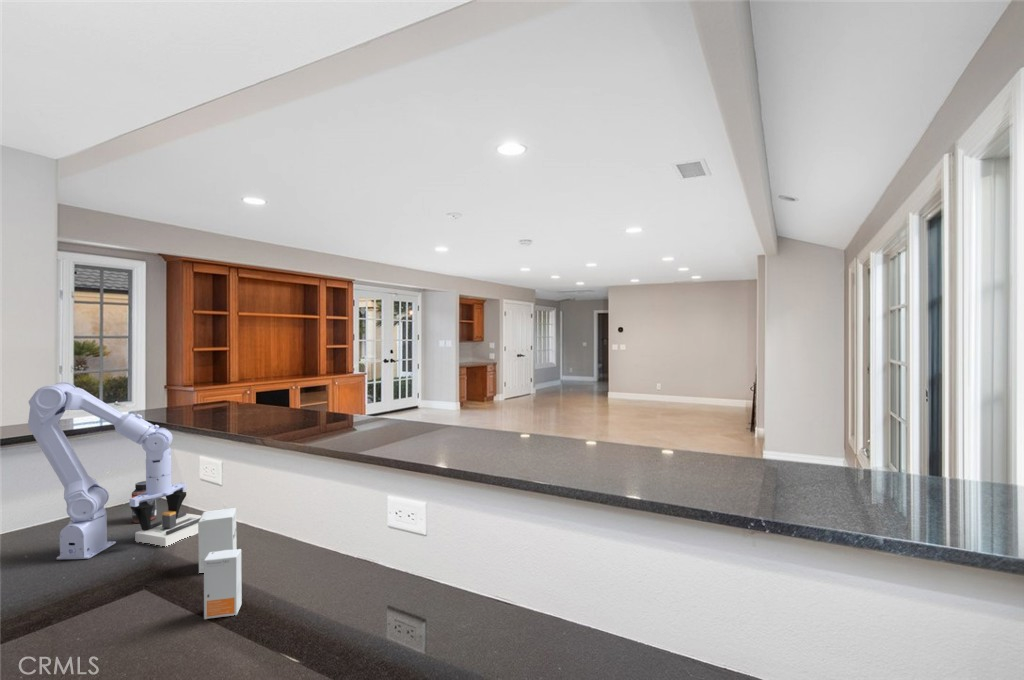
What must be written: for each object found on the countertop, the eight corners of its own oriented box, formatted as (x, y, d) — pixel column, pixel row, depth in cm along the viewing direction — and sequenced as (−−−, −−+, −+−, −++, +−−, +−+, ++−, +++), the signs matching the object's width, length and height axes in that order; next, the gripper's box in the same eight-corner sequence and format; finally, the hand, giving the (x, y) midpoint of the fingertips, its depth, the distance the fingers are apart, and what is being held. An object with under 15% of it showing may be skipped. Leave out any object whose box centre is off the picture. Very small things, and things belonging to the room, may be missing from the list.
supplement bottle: (161, 516, 156) (160, 479, 156) (145, 524, 150) (144, 485, 150) (143, 515, 157) (142, 479, 157) (126, 523, 151) (126, 485, 151)
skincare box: (203, 620, 101) (202, 560, 100) (210, 609, 105) (209, 551, 105) (237, 615, 102) (236, 556, 102) (242, 604, 107) (241, 547, 106)
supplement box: (233, 569, 122) (232, 517, 122) (197, 575, 119) (196, 521, 119) (237, 556, 129) (236, 506, 129) (203, 561, 126) (203, 510, 126)
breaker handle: (170, 528, 140) (169, 513, 140) (162, 527, 141) (161, 512, 141) (176, 526, 142) (176, 511, 142) (168, 524, 143) (168, 510, 142)
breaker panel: (165, 547, 134) (165, 534, 134) (135, 541, 138) (135, 529, 138) (214, 526, 149) (214, 514, 149) (186, 521, 152) (185, 510, 152)
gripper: (143, 483, 130) (144, 536, 131) (194, 468, 144) (195, 516, 144) (123, 481, 132) (124, 533, 133) (175, 466, 146) (176, 513, 147)
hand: (159, 524), depth 139 cm, fingers open, 7 cm apart
